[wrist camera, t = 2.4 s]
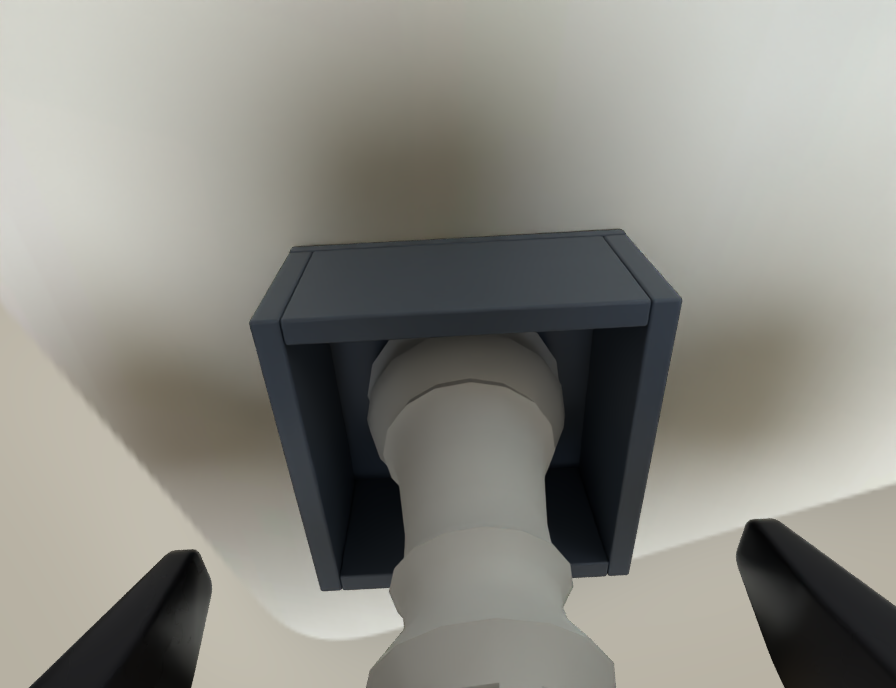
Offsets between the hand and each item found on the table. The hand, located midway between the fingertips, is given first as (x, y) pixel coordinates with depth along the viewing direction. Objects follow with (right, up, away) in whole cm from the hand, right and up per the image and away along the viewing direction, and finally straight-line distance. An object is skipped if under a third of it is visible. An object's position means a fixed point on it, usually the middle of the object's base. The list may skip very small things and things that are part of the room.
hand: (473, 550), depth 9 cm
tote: (0, +3, +4) cm, 5 cm away
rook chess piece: (0, +3, +4) cm, 5 cm away
